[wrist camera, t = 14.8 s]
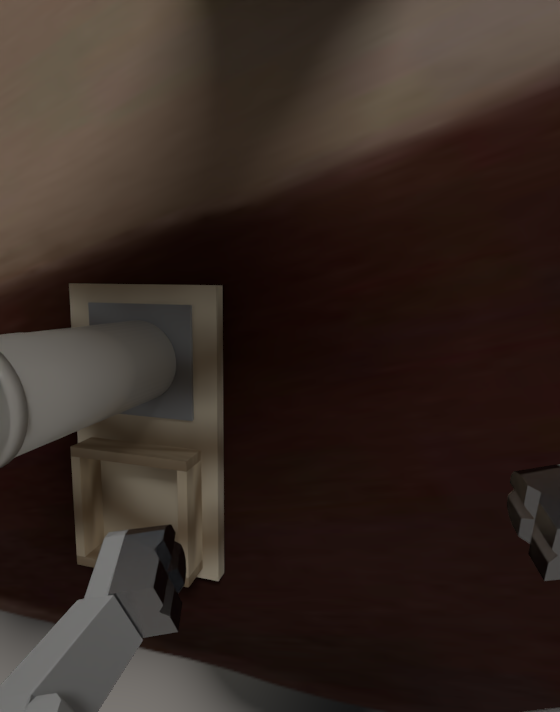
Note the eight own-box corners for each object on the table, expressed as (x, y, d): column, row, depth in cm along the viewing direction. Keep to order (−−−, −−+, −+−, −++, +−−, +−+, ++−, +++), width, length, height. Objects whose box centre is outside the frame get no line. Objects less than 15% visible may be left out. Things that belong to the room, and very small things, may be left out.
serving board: (79, 283, 38) (45, 282, 34) (222, 285, 34) (201, 285, 31) (93, 547, 42) (63, 571, 38) (224, 572, 38) (205, 601, 35)
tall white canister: (188, 335, 34) (25, 368, 20) (166, 415, 36) (0, 499, 21) (85, 294, 36) (-130, 298, 22) (68, 371, 38) (-141, 422, 24)
